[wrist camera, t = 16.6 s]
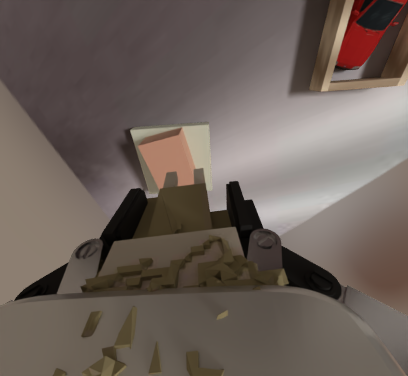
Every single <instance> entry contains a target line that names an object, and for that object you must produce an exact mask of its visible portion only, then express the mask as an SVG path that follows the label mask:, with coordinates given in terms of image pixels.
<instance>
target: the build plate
mask: <svg viewBox="0 0 408 376" xmlns="http://www.w3.org/2000/svg"><path fill="white" fill-rule="evenodd" d="M181 127H182V128H183V131H184V134H185V137H186V140H187V143H188V146H189V149H190V153H191V156H192V159H193V162H194V165H195V168H196V169H200V168H203V170H204V176H205V183H206V189H207V191H212V176H211V156H210V135H209V122H200V123H186V124H172V125H157V126H143V127H134V128H132V129H131V130H130V131H131V135H132V138H133V141H134V145H135V148H136V151H137V154H138V158H139V161H140V164H141V168H142V171H143V174H144V178H145V181H146V184H147V188H148V191H149V194H158V193H159V191H160V190H159V188H158V186H157V184H156V182H155V180H154V178H153V176H152V174H151V172H150V170H149V168H148V166H147V164H146V162H145V160H144V158H143V156H142V154H141V152H140V150H139V148H138V145H139V144H140V143H141V142H142V141H143V140H144V139H145V137H149V136H152V135H156V134H159V133H163V132H167V131H170V130H174V129H177V128H181Z"/></svg>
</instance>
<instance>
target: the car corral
mask: <svg viewBox="0 0 408 376" xmlns="http://www.w3.org/2000/svg"><path fill="white" fill-rule="evenodd" d="M353 3H354V0H330V4H329V8H328V12H327V16H326V21H325V25H324V29H323V33H322V37H321V41H320V46H319V50H318V54H317V58H316V62H315V67H314V71H313V75H312V79H311V83H310V88H309V90H314V91H320V92H323V91H336V90H349V89H362V88H376V87H389V86H402V85H404V84H405V82H406V80H407V79H408V13H407V15H406V18H405V20H404V23H403V25H402V27H401V30H400V32H399V34H398V37H397V39H396V41H395V44H394V46H393V48H392V51H391V53H390V55H389V58H388V60H387V62H386V65H385V67H384V70H383V72H382V74H381V77H379V78H366V79H353V80H340V81H331V78H332V75H333V71H334V68H335V64H336V61H337V58H338V54H339V51H340V47H341V44H342V40H343V37H344V34H345V30H346V27H347V23H348V20H349V17H350V13H351V10H352V6H353Z"/></svg>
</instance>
